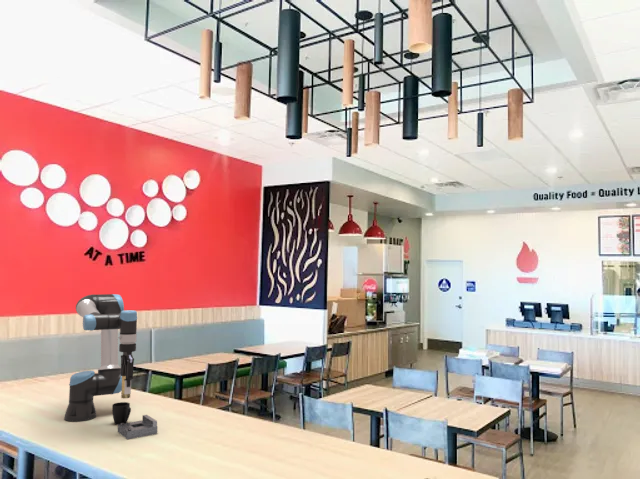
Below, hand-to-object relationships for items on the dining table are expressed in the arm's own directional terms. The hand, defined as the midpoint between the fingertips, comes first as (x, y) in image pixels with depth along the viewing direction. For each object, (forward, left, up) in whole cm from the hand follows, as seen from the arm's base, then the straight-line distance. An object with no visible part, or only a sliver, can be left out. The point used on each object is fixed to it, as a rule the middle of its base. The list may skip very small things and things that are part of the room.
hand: (126, 392), depth 245 cm
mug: (-17, +4, -19) cm, 26 cm away
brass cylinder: (0, 0, -2) cm, 2 cm away
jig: (+2, +5, -19) cm, 20 cm away
